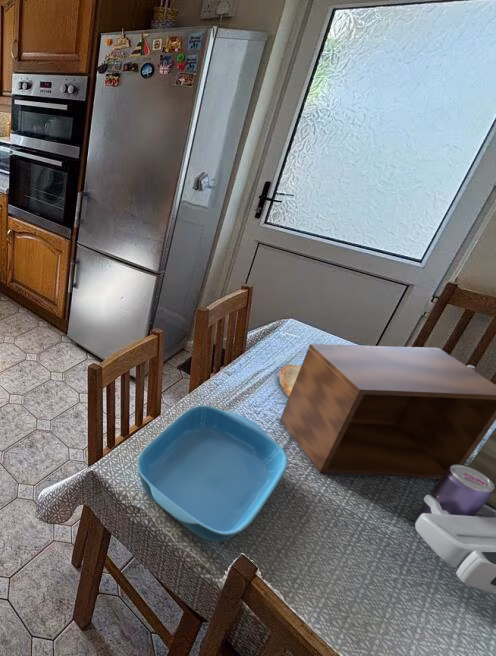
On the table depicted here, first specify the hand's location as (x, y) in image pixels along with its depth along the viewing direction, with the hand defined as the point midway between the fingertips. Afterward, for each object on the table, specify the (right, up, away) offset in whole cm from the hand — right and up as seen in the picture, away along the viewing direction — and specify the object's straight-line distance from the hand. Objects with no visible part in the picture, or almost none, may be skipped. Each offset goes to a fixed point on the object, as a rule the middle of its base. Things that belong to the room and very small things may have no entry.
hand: (448, 498), depth 79 cm
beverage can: (0, -8, +3) cm, 8 cm away
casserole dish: (-40, -3, +13) cm, 42 cm away
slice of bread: (+3, +9, +39) cm, 40 cm away
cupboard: (+2, +1, +21) cm, 21 cm away
